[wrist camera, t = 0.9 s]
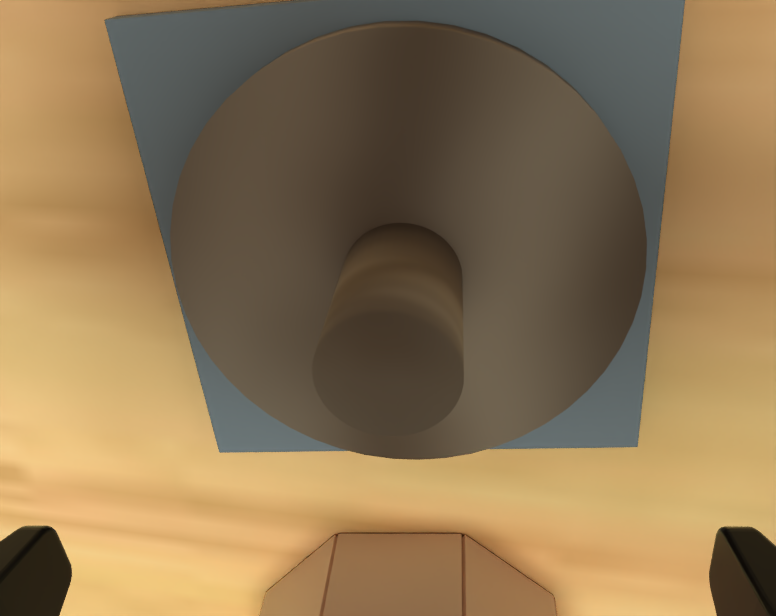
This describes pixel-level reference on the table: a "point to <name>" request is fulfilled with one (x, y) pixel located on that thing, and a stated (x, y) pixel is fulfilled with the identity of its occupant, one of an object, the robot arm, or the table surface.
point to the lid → (408, 241)
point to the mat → (438, 5)
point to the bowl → (405, 580)
